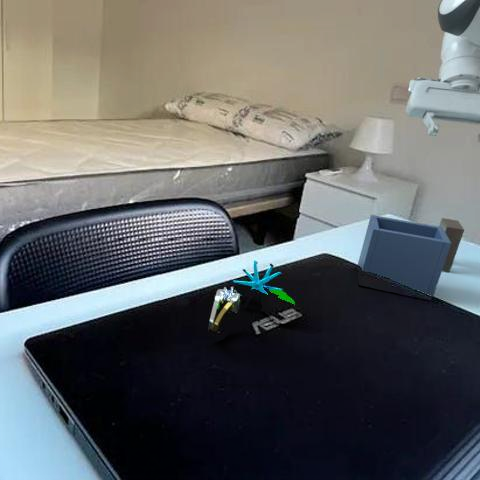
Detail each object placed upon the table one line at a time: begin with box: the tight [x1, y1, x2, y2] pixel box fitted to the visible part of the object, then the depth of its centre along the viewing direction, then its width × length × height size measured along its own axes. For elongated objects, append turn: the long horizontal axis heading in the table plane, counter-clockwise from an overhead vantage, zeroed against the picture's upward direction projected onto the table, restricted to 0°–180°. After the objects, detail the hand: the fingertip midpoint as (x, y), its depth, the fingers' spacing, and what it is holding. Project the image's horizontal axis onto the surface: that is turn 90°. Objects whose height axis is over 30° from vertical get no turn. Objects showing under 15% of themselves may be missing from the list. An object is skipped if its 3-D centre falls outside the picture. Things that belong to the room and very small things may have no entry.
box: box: [357, 214, 451, 297], centre depth 88 cm, size 12×8×11 cm, turn 72°
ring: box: [208, 286, 241, 332], centre depth 68 cm, size 7×3×8 cm, turn 142°
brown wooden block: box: [438, 217, 465, 273], centre depth 98 cm, size 3×6×9 cm, turn 162°
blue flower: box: [233, 260, 296, 305], centre depth 79 cm, size 12×7×8 cm
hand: (458, 137), depth 101 cm, fingers open, 8 cm apart
